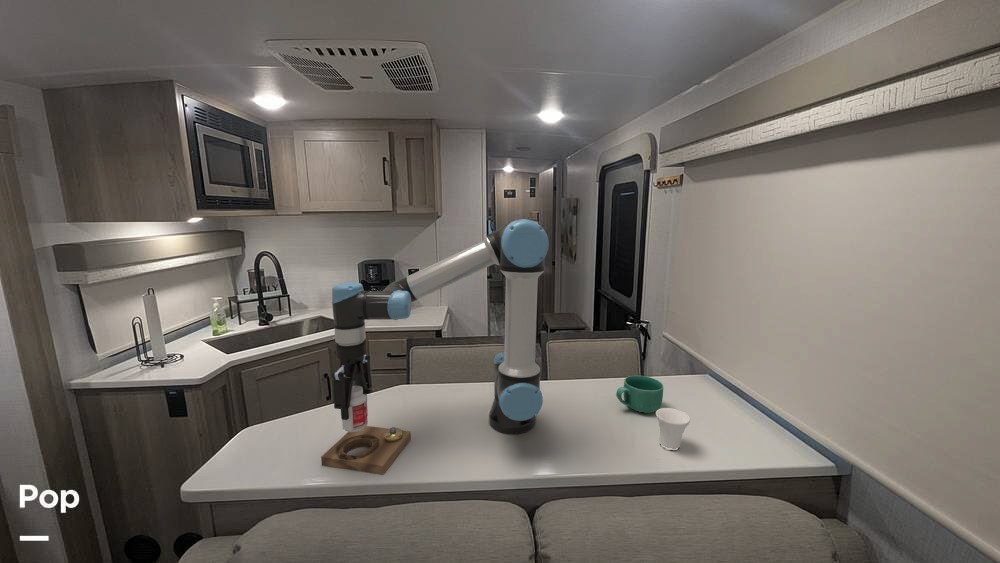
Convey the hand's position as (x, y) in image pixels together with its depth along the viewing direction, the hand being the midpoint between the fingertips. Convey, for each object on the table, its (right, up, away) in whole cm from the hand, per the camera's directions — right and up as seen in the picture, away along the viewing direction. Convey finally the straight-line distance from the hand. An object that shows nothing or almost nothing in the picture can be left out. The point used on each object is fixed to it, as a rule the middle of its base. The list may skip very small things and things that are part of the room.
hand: (355, 422), depth 101 cm
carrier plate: (+3, -9, +3) cm, 10 cm away
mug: (+87, -6, +27) cm, 92 cm away
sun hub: (+9, -7, +5) cm, 12 cm away
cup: (+89, -9, +5) cm, 90 cm away
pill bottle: (0, -2, 0) cm, 2 cm away
